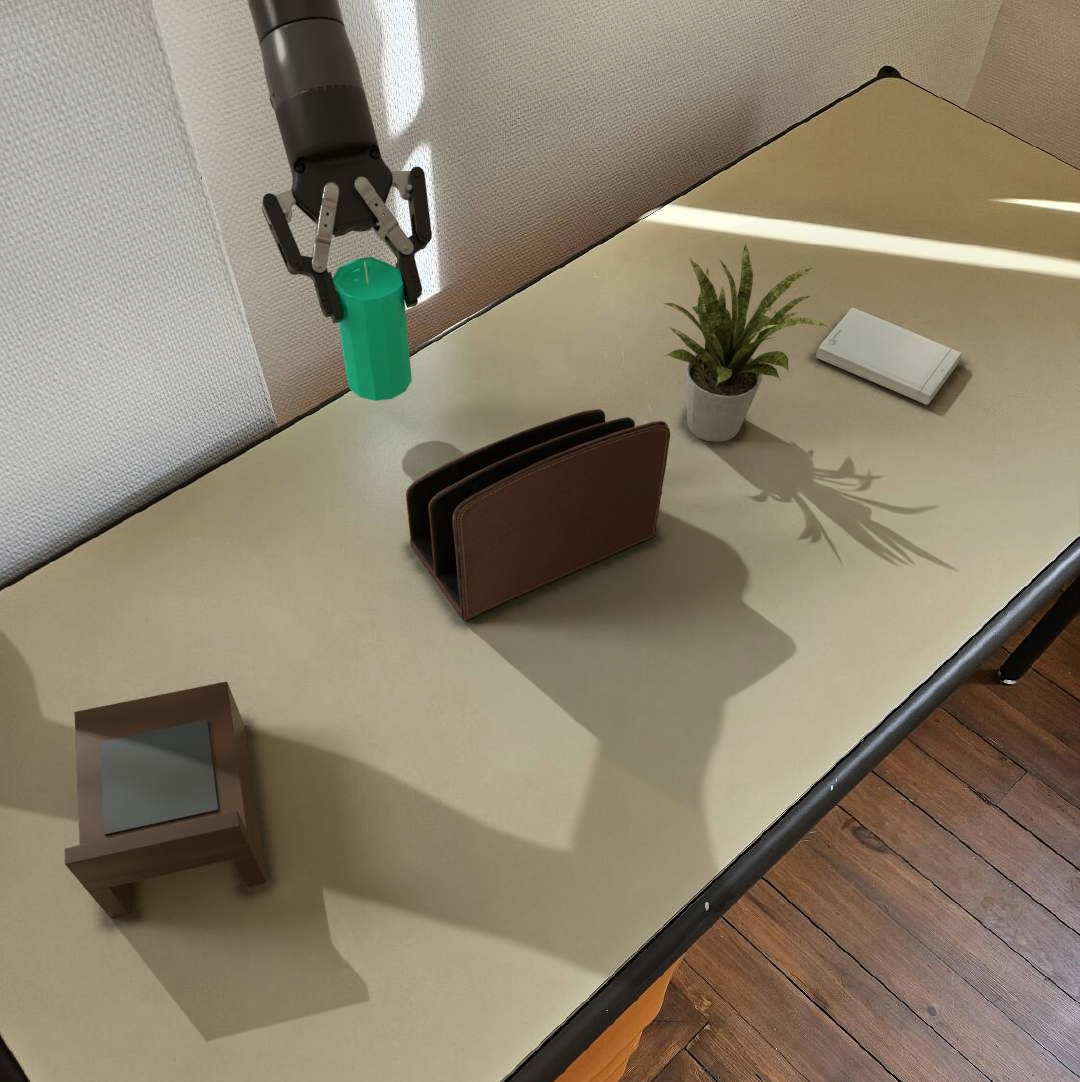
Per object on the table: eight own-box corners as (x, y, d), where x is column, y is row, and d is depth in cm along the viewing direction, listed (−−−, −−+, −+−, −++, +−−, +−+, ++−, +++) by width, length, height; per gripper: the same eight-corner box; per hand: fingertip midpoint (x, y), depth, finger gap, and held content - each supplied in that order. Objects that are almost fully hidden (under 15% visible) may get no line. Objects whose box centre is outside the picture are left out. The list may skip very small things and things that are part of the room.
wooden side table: (101, 753, 82) (59, 688, 74) (244, 724, 84) (217, 657, 76) (110, 918, 75) (64, 864, 67) (266, 882, 76) (239, 825, 69)
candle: (386, 409, 96) (372, 293, 86) (333, 385, 97) (313, 268, 87) (424, 372, 99) (415, 256, 88) (372, 349, 100) (357, 232, 90)
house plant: (820, 406, 105) (866, 256, 91) (771, 494, 98) (813, 347, 85) (687, 360, 108) (713, 210, 95) (631, 443, 102) (650, 294, 88)
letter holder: (657, 537, 95) (677, 415, 83) (463, 624, 89) (455, 506, 78) (597, 469, 100) (609, 343, 88) (409, 547, 94) (394, 424, 82)
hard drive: (818, 346, 108) (931, 394, 104) (853, 305, 111) (964, 350, 108) (814, 359, 109) (926, 407, 105) (849, 318, 113) (958, 363, 109)
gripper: (231, 96, 81) (296, 323, 85) (411, 67, 84) (465, 287, 88) (231, 130, 88) (290, 338, 92) (397, 102, 91) (447, 304, 95)
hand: (375, 312), depth 90 cm, fingers closed on candle, 6 cm apart
